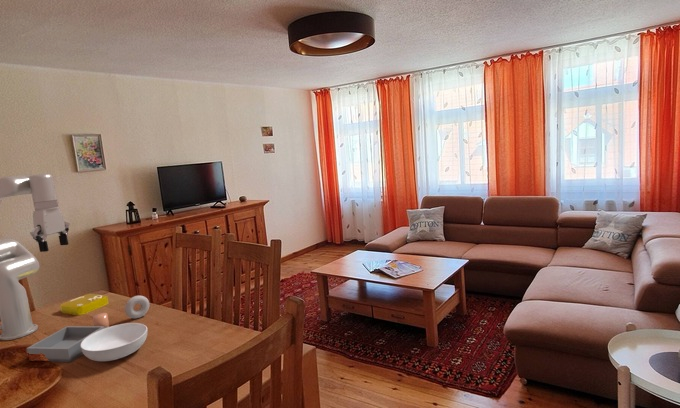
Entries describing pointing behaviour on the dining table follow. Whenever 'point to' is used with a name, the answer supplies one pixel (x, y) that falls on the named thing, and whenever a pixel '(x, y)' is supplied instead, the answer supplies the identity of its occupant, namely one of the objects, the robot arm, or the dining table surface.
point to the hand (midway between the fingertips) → (54, 248)
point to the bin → (63, 343)
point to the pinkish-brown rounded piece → (101, 320)
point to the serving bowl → (114, 342)
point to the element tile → (84, 304)
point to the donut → (139, 313)
